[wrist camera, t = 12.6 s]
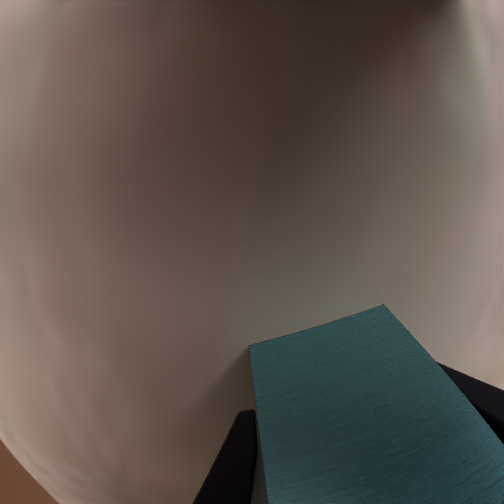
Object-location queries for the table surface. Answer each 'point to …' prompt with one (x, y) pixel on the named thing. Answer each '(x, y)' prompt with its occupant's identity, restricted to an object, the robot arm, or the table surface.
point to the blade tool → (368, 420)
